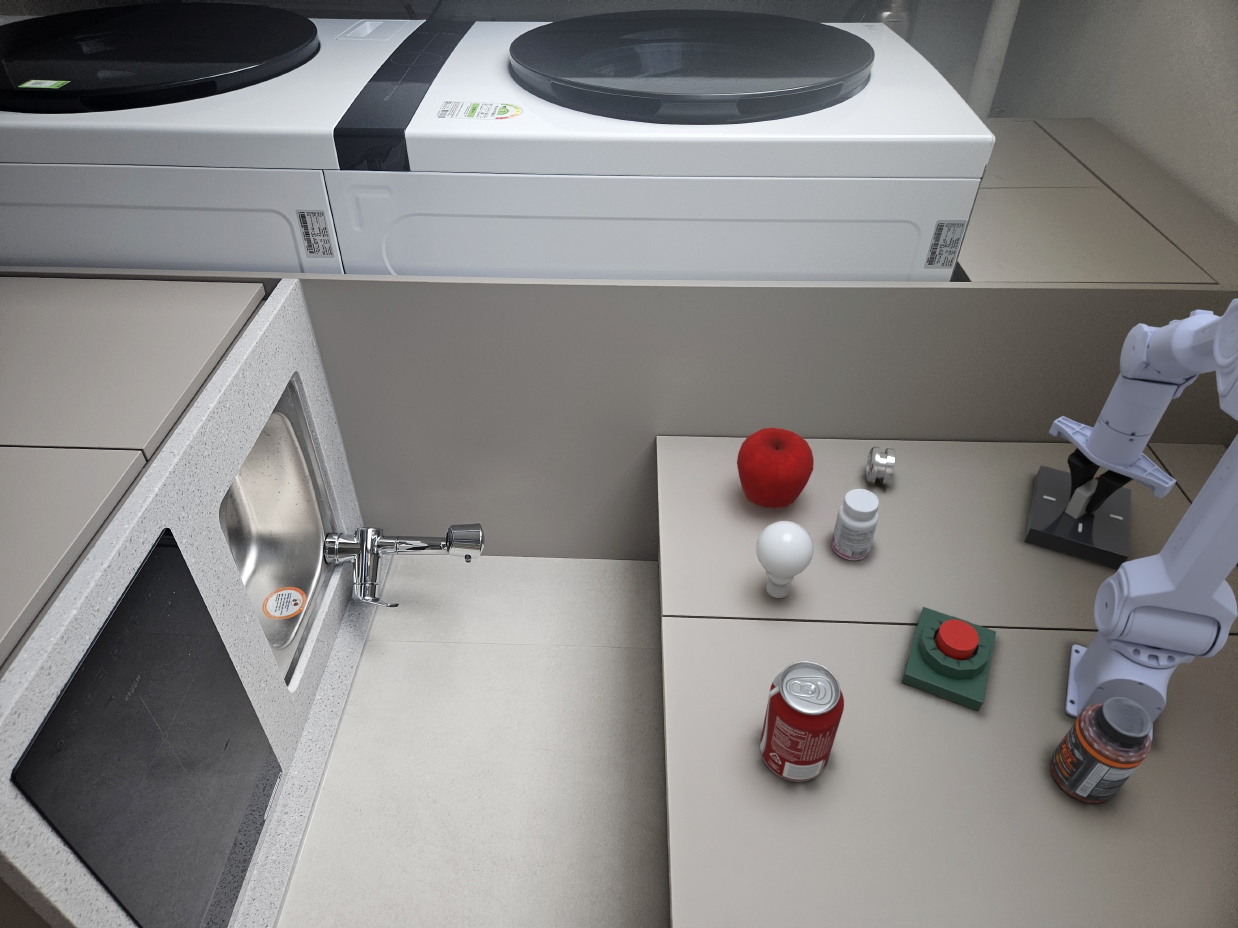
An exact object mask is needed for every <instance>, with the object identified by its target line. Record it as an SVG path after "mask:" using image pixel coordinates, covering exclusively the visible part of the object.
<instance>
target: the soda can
mask: <svg viewBox="0 0 1238 928" xmlns="http://www.w3.org/2000/svg"><path fill="white" fill-rule="evenodd" d="M844 709H845V698H844V694H843V692H842V689H841V686H840V683H839V681H838V679H837V677H836V675H835V674H834V672H833V671H831V670H830V669H829V668H827V667H826V666H825V665H822V664H821V663H818V662H815V661H811V660H800V661H795V662H792V663H790V664H789V665H787V666H785V668H784V669H783V670H782V671H781V672H779V673H778V674H777V675H776V676H775V678H774V679H773V681H772V682H771V685H770V687H769V694H768V699H767V704H766V709H765V715H764V721H763V726H762V730H761V736H760V740H759V750H760V755H761V757H762V759H763V761H764V763H765V764H766V767H768V768H769V769H770V771H771V772H773V773H774V774H775V775H777V777H780V778H781V779H784V780H787V781H790V782H797V783H800V782H807V781H810V780H814V779H815V778H817V777H819V775H821V774H822V773H823V771H824V770H825V768H826V767H827V765H828V761H829V758H830V755H831V752H832V748H833V746H834V742H835V738H836V736H837V733H838V729H839V726H840V723H841V719H842V717H843V714H844Z"/></svg>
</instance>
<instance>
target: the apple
mask: <svg viewBox="0 0 1238 928" xmlns="http://www.w3.org/2000/svg"><path fill="white" fill-rule="evenodd" d="M814 463H815V461H814V454H813V450H812V448H811V447H810V445H809V443H808V441H807V440H806V439H804V438H803V437H801V436H800V435H799V434H798V433H796V432H794V431H791V430H787V429H785V428H779V427H765V428H764V427H763V428H761V429H760V430H757V431H755V432H753V433H752V434H749V435H748V436H747V437H746V438H745V439H744V440H743V442H742V443H741V445H740V448H739V451H738V452H737V459H736V465H737V472H738V473H737V474H738V478H739V481H740V485H741V487H742V491H743V493H744V495H745V497H746V499H747V500H748V501H749V502H751V503H753V504H754V505H755V506H759V507H761V508H762V507H763V508H765V509H766V508H767V509H781V508H787V507H789V506H790V505H793V504H794V502H795V501H796V500H797V499H798V498H799V496H800V495H801V494H802V492H803V490H804V489H805V488H806V486H807V485H808V483H809V481H810V479H811V476H812V474H813V472H814V465H815V464H814Z"/></svg>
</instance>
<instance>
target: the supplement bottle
mask: <svg viewBox="0 0 1238 928" xmlns="http://www.w3.org/2000/svg"><path fill="white" fill-rule="evenodd" d="M1151 729H1152V722H1151V718H1150V716H1149V714H1148V713H1147V712H1146V710H1145V709H1144V708H1143V707H1141V706H1140V705H1139V704H1137V703H1136V702H1134V701H1132V700H1130V699H1127V698H1124V697H1112V698H1109V699H1107V700H1106V701H1105V702H1104V703H1097V704H1093V705H1090V706H1088V707H1087V708H1085V709H1084V710H1083V711H1082V713H1081V714H1080V715H1079V717H1078V718H1076V720H1075V721H1074V722H1073V723H1072V725H1071V727H1070V728H1069V729H1068V731H1067V732H1066V734H1065V735H1064V737H1063V738H1062V739H1061V741H1060V742H1059V744H1058V745H1057V746H1056V747H1055V750H1054V751H1053V753H1052V755H1051V758H1050V763H1049V765H1050V771H1051V773H1052V777H1053V778H1054V781H1055V782H1056V783H1057V785H1058V786H1059V787H1061V789H1062V790H1063V791H1064V792H1065V793H1067V794H1068V795H1070V796H1071V797H1072V798H1075V799H1076V800H1078V801H1081V802H1084V803H1087V804H1101V803H1104V802H1106V801H1108V800H1110V799H1112V798H1113V796H1115V794H1116V793H1117V792H1118V791H1119V790H1120V789H1121V787H1123V785H1124V784H1125V783H1126V782H1127V781H1128V780H1129V778H1130V777H1131V776H1132V775H1133V773H1135V771H1136V770H1137V769H1138V768H1139V767H1140V766H1141V764H1142V763H1143V762H1144V761H1145V759H1146V758H1147V757H1148V755H1149V754H1150V751H1151V747H1152V741H1151V739H1150V735H1149V732H1150V731H1151Z"/></svg>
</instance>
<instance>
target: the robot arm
mask: <svg viewBox="0 0 1238 928" xmlns="http://www.w3.org/2000/svg"><path fill="white" fill-rule="evenodd" d="M1119 371H1120V372H1119V374H1118V376H1117V379H1116V381H1115V382H1114V384H1113V386H1112V388H1111V391H1110V393H1109V395H1108V396H1107V399H1106V400H1105V403H1104V405H1103V407H1102V409H1101V411H1100V414H1099V415H1098V418H1097V420H1096V422H1095V424H1094V425H1093V427H1092V426H1089V425H1086V424H1084V423H1080V422H1078V421H1075V420H1073V419H1070V418H1068V417H1066V416H1064V415H1062V416H1060V417H1058V418H1056V419H1055V420H1054V421H1052V424H1051V426H1050V428H1049V431H1048V434H1049V435H1052V436H1053V437H1055V438H1057V437H1059V436H1060V437H1061V438H1063V439H1065V440H1066V441H1068V442H1070V443H1071V444H1072V445H1074V446H1075V447H1076V448H1075V449H1074V451H1073V452H1072V453H1070V454H1069V455H1068V457H1067V461H1066V462H1067V465H1068V467H1069V473H1071V494H1070V500H1071V498H1072V496H1073V494H1074V493H1075V491H1076V489H1077V488H1079V487H1081V486H1082V485H1084V484H1085V483H1087V482H1088V481H1090V480H1091V479H1093V478H1095V477H1096V474H1097V473H1098V472H1099V469H1100V468H1103V469H1106V471H1105V472H1103V473H1101V474H1102V475H1100V476H1099V478H1098V483H1097V487H1096V490H1095V492H1094V495H1093V496H1092V498H1091V500H1090V501H1089V503H1088V505H1087V507H1086V510H1085V511H1086V512H1088V513H1089V514H1091V513H1093V512H1094V511H1096V510H1097V509H1099V508H1100V506H1101V505H1102V504H1103V503H1104V501H1105V500H1106V499H1107V498H1108V497H1109V496H1110V495H1111V494H1113V493H1114V492H1115V491H1116V490H1118V489H1119V488H1121V487H1124V486H1126V485H1127V484H1129V483H1130V482H1132V481H1133V480H1134V481H1136V482H1137V483H1140V484H1141V485H1143V486H1145V487H1146V488H1148V489H1149V490H1151V491H1152V492H1151V494H1152V495H1153V496H1154V497H1156V498H1158V499H1160V500H1161V499H1162V498H1164V497H1166V496H1167V495H1168V494H1169V493H1170V492H1171V491H1172V489H1173V488H1174V486H1175V484H1176V483H1177V479H1175V478H1173V477H1172V476H1170V475H1169V474H1168V473H1166V472H1165V471H1164V470H1162V468H1160V467H1159V466H1158V465H1157V464H1156V463H1155V462H1153V460H1151V459H1150V458H1149V457H1148V456H1147V455H1146V454H1145V453H1143V452H1144V450H1145V448H1146V447H1147V446H1148V443H1149V441H1150V439H1151V437H1152V435H1153V434H1154V432H1155V430H1156V428H1157V427H1158V425H1159V423H1160V421H1161V419H1162V418H1163V415H1164V414H1165V412H1166V410H1167V409H1168V406H1169V405H1170V403H1171V401H1172V400H1176V399H1178V398H1181V397H1180V396H1181V395H1182V393H1183V391H1184V390H1185V388H1187V387H1188V386H1190V385H1192V384H1193V383H1194V382H1195V380H1197V379H1198V377H1199V375H1202V374H1206V373H1211V372H1215V379H1216V391H1217V394H1218V400H1219V401H1218V402H1219V409H1220V410H1222V411H1223V412H1224V413H1226V414H1227V415H1229V416H1230V417H1231V418H1233V420H1235V421H1237V422H1238V298H1233V299H1232V300H1231V302H1230V303H1229V305H1228V306H1227V309H1226V310H1225V312H1224V313H1223V315H1221V316H1219V315H1217V314H1214V311H1213V310H1206V309H1205V310H1204V309H1195V310H1192V311H1191V312H1190V313H1189V317H1186V318H1183V319H1173V320H1171V321H1169V322H1168V324H1166V325H1164V326H1161V327H1157V326H1149V325H1147V324H1145V323H1142V322H1141V323H1140V322H1139V323H1138V324H1136V325H1135V326H1133V327H1132V328H1131V329H1130V331H1129V332H1128V334H1127V335H1126V337H1125V339H1124V342H1123V345H1122V347H1121V351H1120V357H1119ZM1237 564H1238V433H1237V434H1236V435H1235V437H1234V439H1233V440H1232V442H1230V445H1229V446H1228V448H1227V449H1226V451H1225V452H1224V453H1223V455H1222V457H1221V459H1220V460H1219V462H1218V463H1217V464H1216V466H1215V468H1214V469H1213V471H1212V472H1211V474H1210V475H1209V477H1208V478H1207V480H1206V481H1205V483H1204V484H1203V486H1202V488H1201V489H1200V490H1199V492H1198V494H1197V495H1196V496H1195V498H1194V500H1193V501H1192V502H1191V504H1190V506H1189V507H1188V509H1187V510H1186V512H1185V514H1184V515H1183V516H1182V518H1181V519H1180V521H1179V523H1178V524H1177V525H1176V527H1175V529H1174V531H1172V533H1171V535H1170V536H1169V538H1168V539H1167V541H1166V542H1165V544H1164V546H1163V547H1162V549H1161V550H1160V552H1159V553H1156V554H1153V555H1150V556H1144V557H1140V558H1136V559H1132V560H1128V561H1125V562H1124V563H1122V565H1121V566H1120V568H1119V569H1116V571H1115V573H1113V574H1112V575H1110V576H1108V577H1107V578H1106V579H1105V580H1104V581H1103V582H1102V583H1101V584H1100V586H1099V587H1098V589H1097V593H1096V596H1095V600H1094V604H1093V605H1094V606H1093V621H1094V625H1095V627H1096V629H1097V632H1096V634H1095V635H1094V637H1093V638H1092V640H1091V642H1090V643H1089V645H1088V646H1087V647H1085V646H1082V645H1079V644H1073V645H1072V646H1071V648H1070V649H1071V650H1070V658H1069V659H1070V660H1069V668H1068V677H1067V679H1068V680H1067V690H1066V699H1065V708H1064V710H1065V713H1066V714H1067V715H1068V716H1071V717H1073V718H1076V719H1077V718H1078V717H1079V715H1080V714H1081V713H1082V711H1083V710H1084V709H1085V708H1087V707H1088V706H1090V705H1093V704H1097V703H1104V702H1105V701H1106V700H1107V699H1109V698H1112V697H1124V698H1127V699H1130V700H1132V701H1134V702H1136V703H1137V704H1139V705H1140V706H1141V707H1143V708H1144V709H1145V710H1146V712H1147V713H1148V714H1149V716H1150V718H1151V722H1152V729H1151V731H1150V732H1149V735H1150V739H1151V742H1153V730H1154V729H1153V728H1154V726H1153V725H1154V724H1153V723H1155V721H1156V720H1157V719H1158V717H1159V716H1160V715H1161V714H1162V713H1163V711H1164V710H1165V709H1166V706H1167V705H1166V704H1167V692H1168V685H1169V682H1170V679H1171V677H1172V675H1173V673H1174V672H1175V670H1176V669H1177V668H1178V667H1179V666H1180V664H1191V662H1193V660H1194V659H1195V658H1196V656H1197V657H1199V658H1204V659H1210V658H1212V657H1214V656H1215V655H1217V654H1218V652H1220V651H1221V650H1222V649H1223V648H1224V646H1225V645H1226V643H1227V640H1228V638H1229V634H1230V630H1231V627H1232V625H1233V623H1234V622H1235V620H1236V619H1237V617H1238V604H1237V599H1236V596H1235V594H1234V591H1233V589H1232V587H1231V586H1230V584H1229V583H1228V582H1227V580H1226V579H1227V577H1228V576H1229V575H1230V573H1231V572H1232V571H1233V569H1235V567H1236V565H1237Z"/></svg>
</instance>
